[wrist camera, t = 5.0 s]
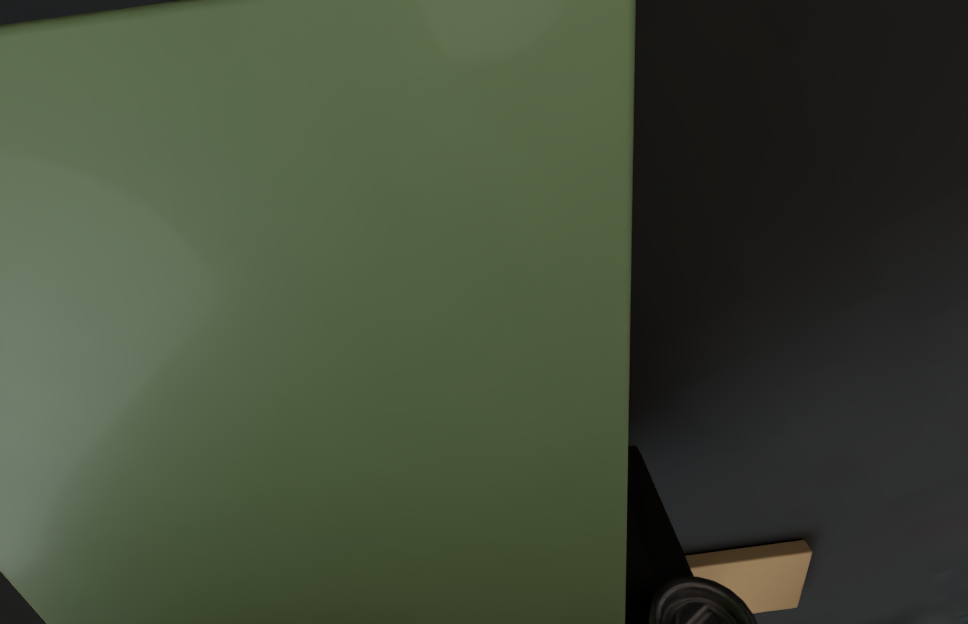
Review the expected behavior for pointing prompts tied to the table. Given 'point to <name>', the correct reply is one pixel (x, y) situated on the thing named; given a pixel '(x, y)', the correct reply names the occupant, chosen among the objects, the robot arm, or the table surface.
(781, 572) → the strip
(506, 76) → the green box
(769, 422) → the table surface
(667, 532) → the robot arm
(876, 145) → the table surface
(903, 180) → the table surface
